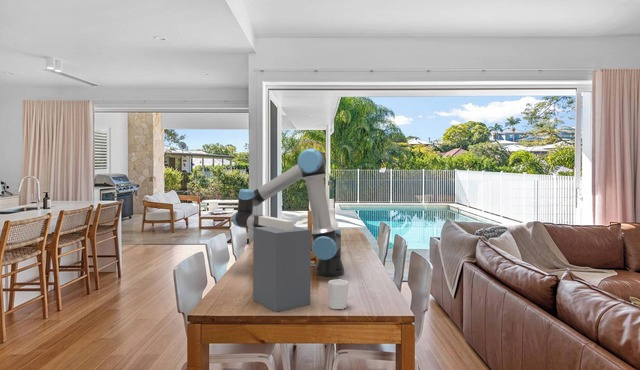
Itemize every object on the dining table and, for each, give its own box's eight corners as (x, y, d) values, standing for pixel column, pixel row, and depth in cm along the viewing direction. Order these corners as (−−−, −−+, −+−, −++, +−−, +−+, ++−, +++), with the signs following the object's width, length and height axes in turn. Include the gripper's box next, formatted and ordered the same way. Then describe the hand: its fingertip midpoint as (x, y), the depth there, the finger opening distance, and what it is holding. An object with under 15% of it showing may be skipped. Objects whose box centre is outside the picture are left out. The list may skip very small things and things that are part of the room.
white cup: (326, 304, 171) (327, 279, 171) (346, 303, 172) (346, 279, 171) (329, 310, 163) (329, 284, 163) (349, 310, 164) (349, 284, 164)
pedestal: (253, 300, 175) (253, 227, 174) (286, 293, 185) (286, 224, 184) (275, 312, 161) (276, 233, 160) (310, 304, 170) (310, 229, 169)
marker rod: (254, 223, 187) (254, 215, 186) (261, 223, 189) (261, 215, 189) (285, 230, 166) (286, 221, 166) (293, 230, 168) (293, 221, 168)
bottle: (340, 256, 266) (340, 208, 265) (329, 257, 262) (330, 208, 261) (333, 254, 273) (333, 207, 272) (322, 255, 269) (323, 207, 268)
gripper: (272, 236, 219) (304, 243, 206) (238, 224, 199) (272, 231, 187) (276, 221, 220) (308, 228, 208) (243, 208, 201) (277, 214, 188)
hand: (291, 229), depth 197 cm, fingers open, 13 cm apart
